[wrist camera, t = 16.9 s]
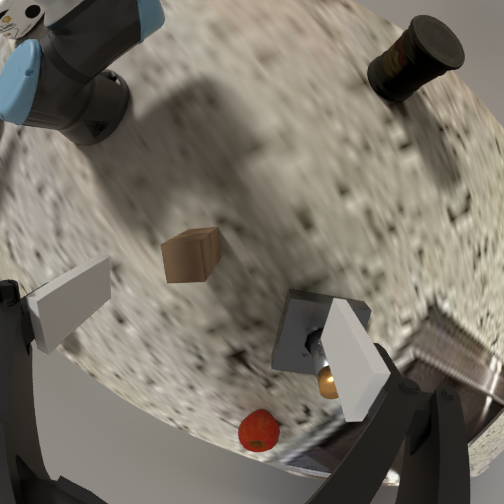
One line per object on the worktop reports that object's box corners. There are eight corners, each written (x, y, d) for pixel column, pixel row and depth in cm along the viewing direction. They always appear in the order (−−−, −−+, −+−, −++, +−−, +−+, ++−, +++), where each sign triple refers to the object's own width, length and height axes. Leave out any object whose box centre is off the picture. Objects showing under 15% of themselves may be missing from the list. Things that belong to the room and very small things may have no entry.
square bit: (191, 259, 45) (167, 283, 33) (187, 229, 44) (160, 244, 32) (220, 257, 44) (204, 281, 33) (217, 226, 43) (199, 241, 32)
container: (398, 58, 34) (446, 15, 16) (417, 100, 36) (476, 71, 18) (358, 60, 35) (398, 8, 18) (377, 105, 37) (431, 68, 19)
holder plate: (271, 356, 48) (271, 369, 44) (288, 288, 45) (290, 298, 41) (340, 364, 48) (345, 376, 44) (364, 301, 45) (371, 310, 41)
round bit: (303, 338, 47) (316, 398, 31) (309, 319, 46) (325, 376, 31) (324, 341, 47) (343, 399, 31) (330, 322, 46) (353, 378, 30)
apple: (249, 394, 51) (245, 432, 40) (286, 404, 51) (288, 442, 41) (235, 416, 53) (230, 452, 42) (269, 426, 53) (269, 461, 43)
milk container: (12, 52, 34) (-27, 40, 17) (20, 18, 30) (-13, 4, 13) (51, 18, 32) (12, -4, 15) (58, -13, 29) (27, -35, 11)
